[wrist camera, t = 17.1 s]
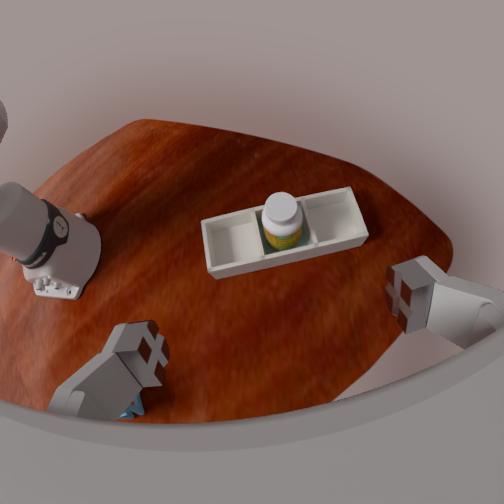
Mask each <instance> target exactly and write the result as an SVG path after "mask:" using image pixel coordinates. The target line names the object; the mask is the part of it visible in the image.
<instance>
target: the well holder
mask: <svg viewBox="0 0 504 504" xmlns="http://www.w3.org/2000/svg"><path fill="white" fill-rule="evenodd" d="M295 200H296V202H297V204H298V206H299V207H300V209H301V211H302V216H303V219H302V231H301V239H300V241H299V243H298V245H297V246H296V247H295V248H293V249H290V250H285V251H277V250H275V249H273V248H272V247H271V246H270V245H269V244H268V242H267V240H266V236H265V232H264V228H263V223H262V212H263V209H264V207H265V205H262V206H258V207H254V208H250V209H245V210H241V211H237V212H233V213H229V214H225V215H221V216H217V217H213V218H209V219H205V220H202V221H201V226H202V233H203V241H204V248H205V255H206V262H207V269H208V273H209V274H211V275H212V276H213V277H214V278H215V279H221V278H225V277H230V276H234V275H239V274H243V273H248V272H252V271H257V270H261V269H265V268H270V267H274V266H278V265H283V264H287V263H291V262H296V261H300V260H304V259H308V258H313V257H317V256H321V255H325V254H329V253H333V252H337V251H342V250H346V249H350V248H354V247H358V246H362V244H363V243H364V241H365V240H366V238H367V237H368V235H369V234H368V232H367V229H366V226H365V223H364V220H363V218H362V215H361V212H360V210H359V207H358V205H357V202H356V200H355V197H354V195H353V192H352V190H351V187H346V188H341V189H336V190H331V191H326V192H321V193H317V194H312V195H307V196H302V197H298V198H295Z"/></svg>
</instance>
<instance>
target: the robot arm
mask: <svg viewBox="0 0 504 504" xmlns="http://www.w3.org/2000/svg"><path fill="white" fill-rule="evenodd" d="M7 128H8V119H7V113H6V110H5V107H4V105H3V104H2V102H1V101H0V143H1V141H2V139H3V137H4V134H5V132H6V130H7ZM0 252H2V253H5V254H7V255H10V256H12V260H13V257H14V261H15V262H16V260H17V261H18V262H19V263H21V265H22V266H23V272H24V276H25V278H26V280H27V281H29V282H31V283H33V286H34V290H35V293H36V295H38V296H42V297H52V298H62V299H73V300H76V299H78V298H79V296H80V294H81V292H82V289H83V286H84V285H85V283H86V282H87V281H88V280H89V279H90V277H91V276H92V274H93V273H94V271H95V269H96V266H97V264H98V261H99V257H100V252H101V239H100V235H99V232H98V230H97V229H96V227H95V226H94V225H92V224H91V223H88V222H87V221H86V220H85V218H84V217H83V215H81V214H79V213H77V214H75V215H74V214H73V213H71V212H69V211H67V210H65V209H63V208H61V207H59V206H56V207H55V206H54V205H53V204H52V203H50V202H49V201H46V200H44V199H39V198H38V197H36V196H35V195H34V194H32V193H31V192H30V191H28V190H27V189H25V188H24V187H22V186H21V185H20V184H18V183H15V182H8V183H5V184H2V185H1V186H0ZM386 279H387V280H388V281H389V283H388V285H387V287H386V288H385V298H386V303H387V306H388V308H389V310H390V312H391V313H392V314H394V315H396V316H398V320H397V322H398V324H399V325H400V327H401V328H402V330H403V331H404V333H405V334H408V333H411V332H413V331H416V330H419V329H421V328H424V327H426V328H427V329H429V330H431V331H433V332H434V333H436V334H438V335H440V336H442V337H443V338H445V339H447V340H449V341H450V342H452V343H454V344H456V345H458V346H460V347H461V348H463V349H465V350H463V351H461V352H459V353H457V354H456V355H453V356H452V357H450V358H448V359H446V360H444V361H441V362H439V363H437V364H435V365H433V366H431V367H429V368H427V369H424V370H422V371H420V372H417V373H415V374H413V375H410V376H408V377H405V378H403V379H400V380H398V381H395V382H392V383H390V384H387V385H384V386H382V387H379V388H376V389H373V390H370V391H367V392H364V393H361V394H358V395H354V396H351V397H348V398H344V399H341V400H337V401H334V402H330V403H326V404H322V405H318V406H314V407H309V408H305V409H300V410H296V411H291V412H285V413H280V414H274V415H268V416H262V417H255V418H248V419H240V420H231V421H220V422H207V423H187V424H144V423H125V422H116V421H117V420H118V418H119V417H120V416H121V415H122V413H123V412H124V411H125V410H126V408H127V407H128V406H129V405H130V403H131V402H132V401H133V400H134V398H135V397H136V396H137V395H138V393H139V392H140V391H141V390H142V387H153V386H163V382H164V378H165V374H166V371H165V369H164V368H163V367H164V366H165V365H166V364H167V363H168V361H169V357H170V355H169V347H168V344H167V341H166V340H165V338H164V337H163V336H161V335H160V334H158V331H159V327H158V326H157V324H156V322H155V321H153V320H145V321H138V322H130V323H123V324H118V325H116V326H115V327H114V329H113V331H112V333H111V335H110V337H109V339H108V341H107V343H106V345H105V347H104V349H103V351H102V353H101V354H97V355H96V356H95V357H94V358H92V359H91V360H90V361H89V362H88V363H86V364H85V365H84V366H83V367H82V368H80V369H79V370H78V371H77V372H76V373H74V374H73V375H72V376H71V377H70V378H68V379H67V380H66V381H65V382H64V383H63V384H61V385H60V386H59V387H58V388H57V389H56V391H55V393H54V395H53V397H52V399H51V401H50V404H49V406H48V408H47V410H46V411H42V410H38V409H34V408H30V407H26V406H22V405H19V404H15V403H12V402H8V401H5V400H3V399H0V504H504V291H501V290H498V289H494V288H491V287H488V286H485V285H481V284H478V283H475V282H471V281H468V280H464V279H461V278H457V277H454V276H451V277H448V276H447V275H446V274H445V273H444V272H443V271H442V270H441V269H440V268H439V267H438V266H436V265H435V264H434V263H433V262H432V261H431V260H430V259H429V258H427V257H426V256H420V257H417V258H414V259H411V260H409V261H406V262H403V263H399V264H396V265H393V266H390V267H387V270H386Z"/></svg>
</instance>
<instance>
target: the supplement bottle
mask: <svg viewBox="0 0 504 504" xmlns="http://www.w3.org/2000/svg"><path fill="white" fill-rule="evenodd" d="M302 219H303V216H302V211H301V209H300V207H299V206H298V204H297V202H296V200H295V198H294V197H293V196H292V195H290V194H288V193H285V192H278V193H274V194H272V195H271V196H270V197H269V198H268V199H267V201H266V203H265V207H264V209H263V212H262V223H263V228H264V232H265V236H266V240H267V242H268V244H269V245H270V246H271V247H272V248H273V249H275V250H277V251H285V250H290V249H293V248H295V247H296V246H297V245H298V243H299V241H300V239H301V231H302Z"/></svg>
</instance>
